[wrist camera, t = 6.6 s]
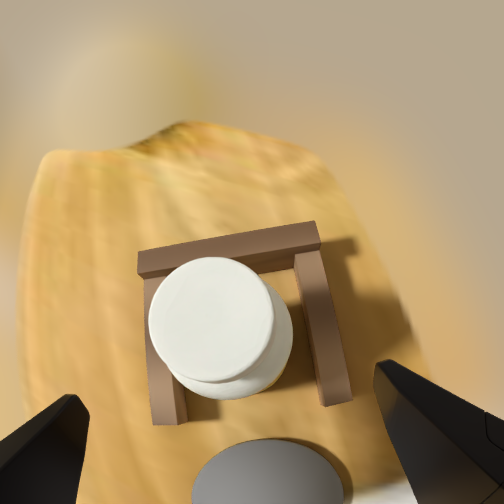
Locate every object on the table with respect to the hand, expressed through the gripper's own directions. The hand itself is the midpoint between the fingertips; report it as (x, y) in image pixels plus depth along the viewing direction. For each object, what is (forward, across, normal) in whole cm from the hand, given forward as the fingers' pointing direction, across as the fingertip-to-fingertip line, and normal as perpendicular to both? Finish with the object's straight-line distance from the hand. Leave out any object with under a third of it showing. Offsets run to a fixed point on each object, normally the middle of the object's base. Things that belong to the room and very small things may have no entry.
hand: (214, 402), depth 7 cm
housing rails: (+10, 0, +4) cm, 11 cm away
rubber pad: (+2, 0, +12) cm, 12 cm away
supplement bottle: (+9, 0, +5) cm, 10 cm away
